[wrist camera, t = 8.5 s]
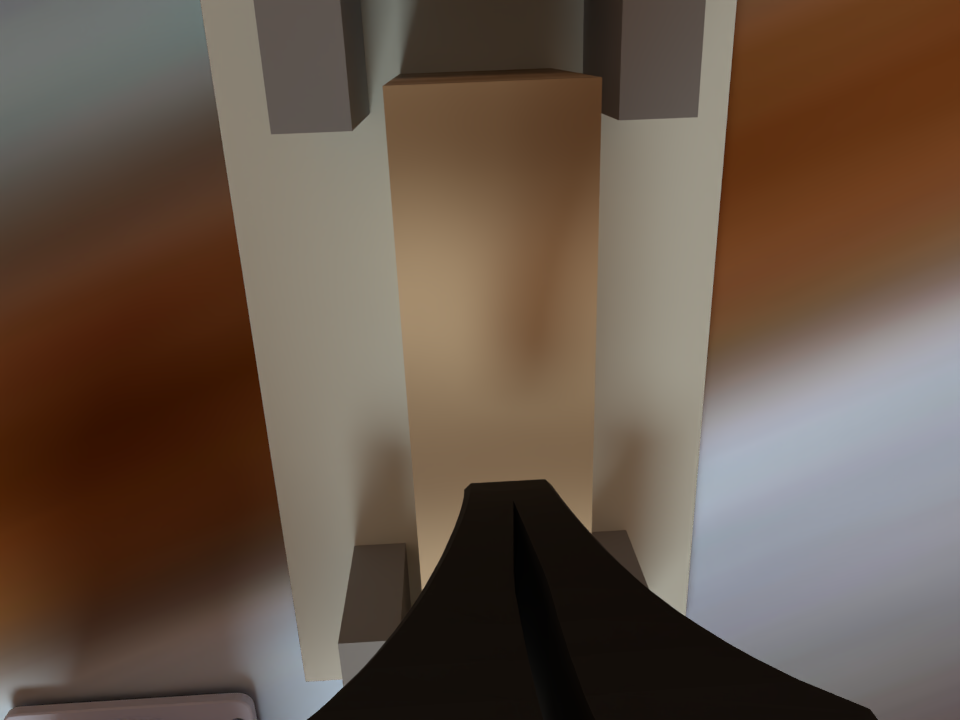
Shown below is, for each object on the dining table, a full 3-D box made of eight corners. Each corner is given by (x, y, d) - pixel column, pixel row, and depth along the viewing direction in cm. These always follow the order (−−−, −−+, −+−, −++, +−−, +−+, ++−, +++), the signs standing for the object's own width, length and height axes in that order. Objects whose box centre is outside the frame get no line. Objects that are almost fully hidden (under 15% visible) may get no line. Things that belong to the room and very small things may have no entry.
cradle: (673, 635, 26) (725, 764, 21) (310, 658, 25) (281, 795, 21) (732, -137, 17) (839, -204, 13) (194, -121, 17) (102, -184, 12)
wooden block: (551, 566, 23) (586, 730, 18) (434, 573, 23) (433, 740, 17) (551, 67, 18) (602, 76, 12) (399, 73, 18) (382, 85, 12)
